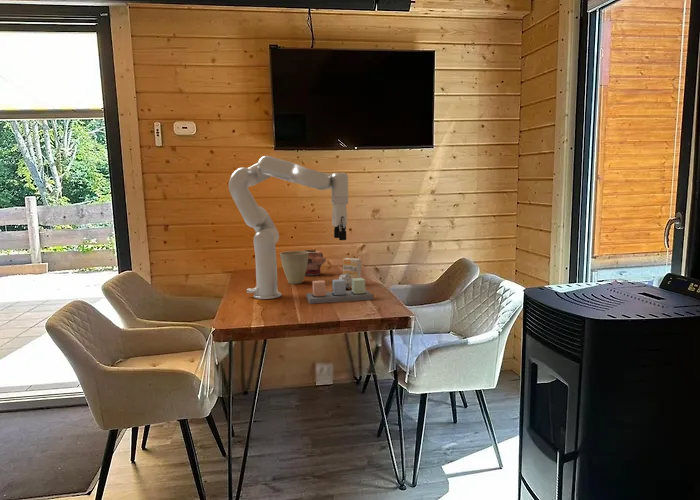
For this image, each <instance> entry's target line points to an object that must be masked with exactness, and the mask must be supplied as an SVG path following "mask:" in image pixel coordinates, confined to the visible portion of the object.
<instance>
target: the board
mask: <svg viewBox="0 0 700 500" xmlns="http://www.w3.org/2000/svg"><path fill="white" fill-rule="evenodd" d="M305 295H306V297H305V298H306V300H307V302H308V303H309V304H310V305H313V304H314V305H315V304H325V303H326V304H327V303H341V302H343V303H344V302H355V301H356V302H357V301H371V300H374V295H373V294H372V293H371V292H370V291H368V290H367V289H365V293H360V294H354V293H353V292H352V290H346V294H345V295H334V294H333V291H326V296H314V295H313V292H309V293H306V294H305Z"/></svg>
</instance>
